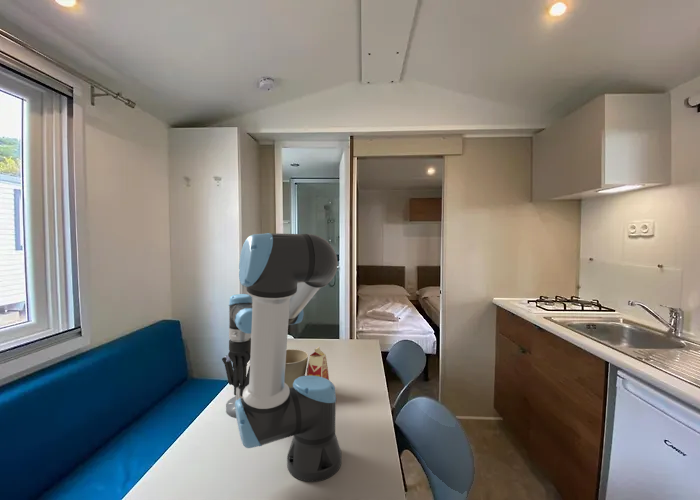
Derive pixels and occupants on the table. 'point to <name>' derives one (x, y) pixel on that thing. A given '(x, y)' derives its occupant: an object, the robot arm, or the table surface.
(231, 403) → the dial base
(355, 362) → the table surface
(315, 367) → the milk carton
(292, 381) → the plant pot
